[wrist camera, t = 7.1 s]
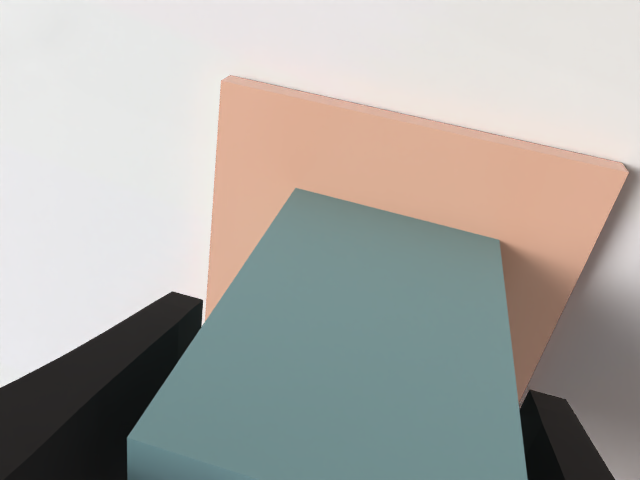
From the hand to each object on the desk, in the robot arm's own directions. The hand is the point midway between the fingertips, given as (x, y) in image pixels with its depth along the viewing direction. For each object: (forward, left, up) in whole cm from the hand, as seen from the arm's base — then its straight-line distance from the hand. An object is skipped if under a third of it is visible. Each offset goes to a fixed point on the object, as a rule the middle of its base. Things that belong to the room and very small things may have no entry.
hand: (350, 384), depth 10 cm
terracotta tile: (0, 0, -4) cm, 4 cm away
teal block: (0, 0, -3) cm, 3 cm away
